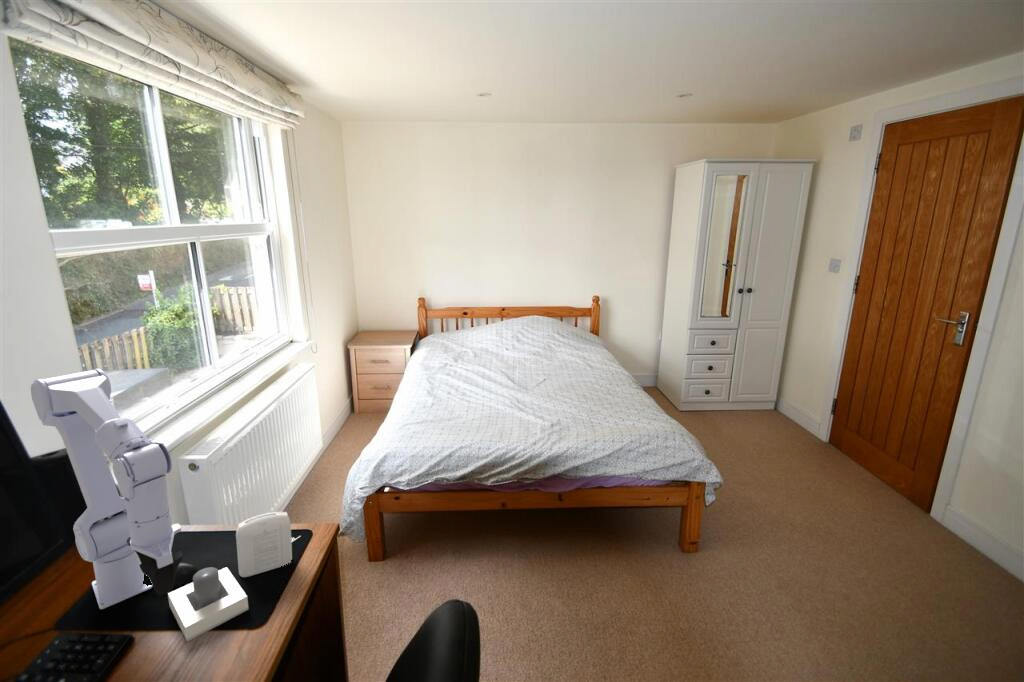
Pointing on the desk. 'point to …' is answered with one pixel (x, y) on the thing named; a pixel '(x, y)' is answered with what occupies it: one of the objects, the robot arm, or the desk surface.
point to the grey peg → (206, 587)
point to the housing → (212, 614)
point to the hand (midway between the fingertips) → (158, 580)
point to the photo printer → (263, 543)
